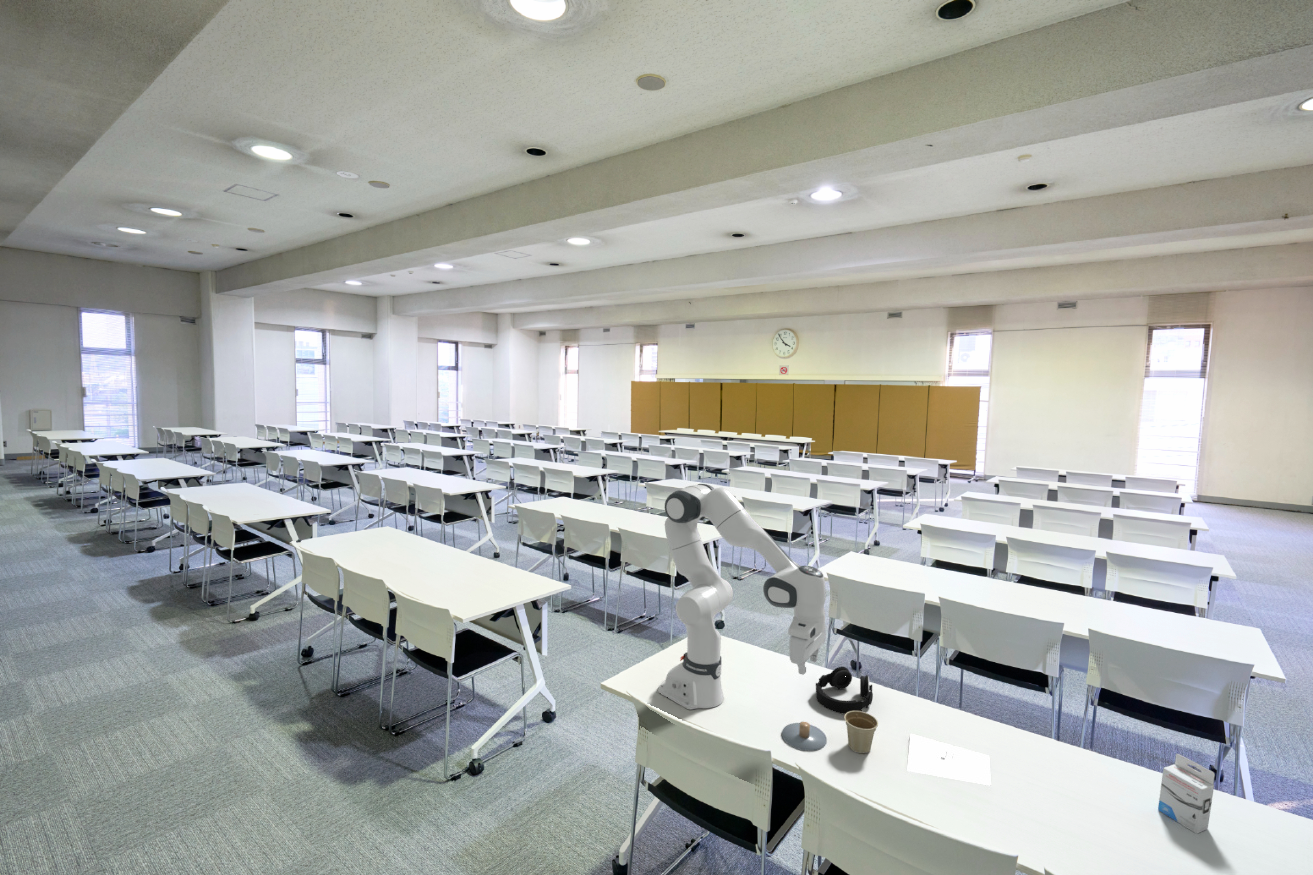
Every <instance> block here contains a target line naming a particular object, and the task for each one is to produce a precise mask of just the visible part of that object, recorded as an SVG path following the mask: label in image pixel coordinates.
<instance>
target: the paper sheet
mask: <svg viewBox="0 0 1313 875" xmlns="http://www.w3.org/2000/svg"><path fill="white" fill-rule="evenodd" d="M908 745H909V746H908V757H907V769H906V771H907V772H912V773H919V774H922V775H923V774H924V775H930V776H935V777H939V778H940V777H941V778H946V779H952V780H957V781H962V782H968V783H975V784H980V785H985V786H992V781H991V780H992V779H991V776H992V775H991V764H990V763H991V761H990V755H987V754H984V753H981V752H977V751H973V750H970V749H966V748H963V747H960V746H955V745H952V744H949V743H945V742H942V741H937V740H935V739H931V738H929V737H928V738H927V737H924V736H920V735H918V734H914V733H910V734H909V744H908Z"/></svg>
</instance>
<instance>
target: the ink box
mask: <svg viewBox="0 0 1313 875" xmlns="http://www.w3.org/2000/svg"><path fill="white" fill-rule="evenodd" d="M1189 765H1190V766H1189ZM1191 766H1193V767H1195V768H1196V769H1198V770H1199V771H1198V770H1196V769H1194V768H1193V767H1191ZM1161 776H1162V777H1161V785H1160V791H1159V792H1160V793H1159V798H1158V804H1157V805H1158V807H1157V810H1158V811H1159V812H1161V813H1162V814H1163V815H1166V816H1167V817H1169V818H1170V819H1172V820H1173V821H1175V822H1177V823H1178V824H1180V825H1181V826H1183V827H1185V829H1188V830H1190V831H1192V832H1193V833H1195V834H1199V833H1201V832H1204V831H1206V830H1207V829H1209V823H1210V816H1211V809H1212V805H1213V804H1212V802H1213V796H1214V790H1215V783H1214V782H1215V777H1216V776H1215V772H1214V771H1212V770H1210V769H1208V768H1206V767H1204V766H1203V765H1201V764H1199V763H1197V762H1196V761H1193V760H1191V759H1189V758H1187V757H1185V756H1183V755H1181V754H1180V753H1175V762H1174V764H1171V765H1167V766H1165V767H1163V770H1162V775H1161Z"/></svg>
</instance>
